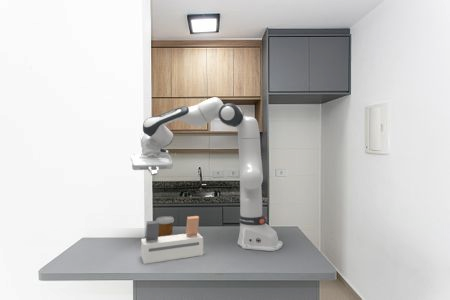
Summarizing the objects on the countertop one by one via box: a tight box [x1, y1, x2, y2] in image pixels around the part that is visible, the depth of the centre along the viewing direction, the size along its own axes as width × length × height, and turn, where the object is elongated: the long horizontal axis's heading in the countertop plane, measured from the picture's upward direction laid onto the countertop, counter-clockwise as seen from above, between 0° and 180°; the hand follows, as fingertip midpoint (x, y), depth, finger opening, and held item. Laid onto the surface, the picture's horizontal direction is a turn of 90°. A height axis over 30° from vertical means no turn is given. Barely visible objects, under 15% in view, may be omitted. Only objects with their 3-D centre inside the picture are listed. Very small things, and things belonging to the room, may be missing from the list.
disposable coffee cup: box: [155, 215, 175, 237], centre depth 156 cm, size 10×10×12 cm
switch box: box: [140, 232, 204, 265], centre depth 134 cm, size 9×26×8 cm, turn 113°
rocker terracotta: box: [185, 215, 200, 236], centre depth 136 cm, size 2×5×9 cm, turn 112°
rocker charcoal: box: [145, 220, 159, 241], centre depth 129 cm, size 2×5×9 cm, turn 112°
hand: (154, 174), depth 148 cm, fingers closed
